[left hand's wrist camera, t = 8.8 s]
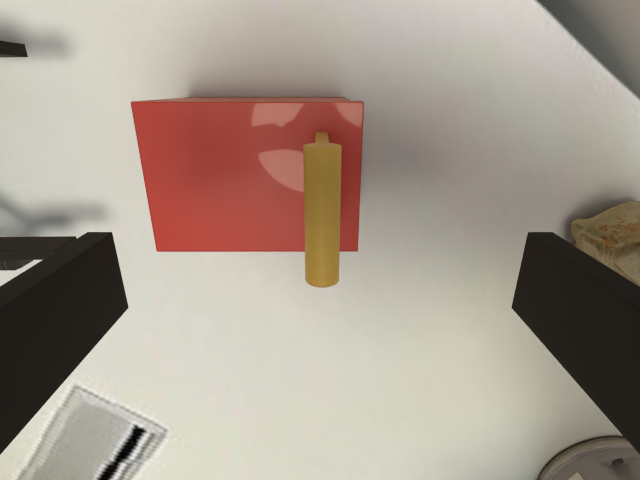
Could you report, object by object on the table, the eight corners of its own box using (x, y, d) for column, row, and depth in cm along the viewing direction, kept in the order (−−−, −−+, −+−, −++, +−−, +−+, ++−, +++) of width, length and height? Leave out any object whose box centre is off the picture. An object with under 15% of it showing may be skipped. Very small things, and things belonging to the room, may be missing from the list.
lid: (362, 101, 23) (385, 108, 15) (356, 246, 26) (372, 315, 18) (137, 101, 23) (39, 108, 15) (161, 246, 26) (93, 315, 18)
